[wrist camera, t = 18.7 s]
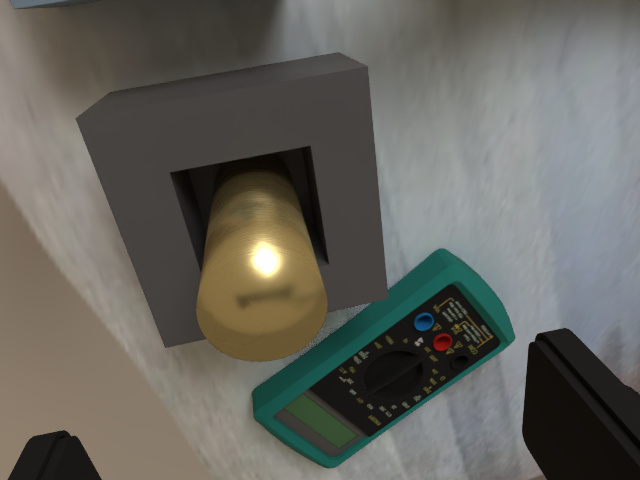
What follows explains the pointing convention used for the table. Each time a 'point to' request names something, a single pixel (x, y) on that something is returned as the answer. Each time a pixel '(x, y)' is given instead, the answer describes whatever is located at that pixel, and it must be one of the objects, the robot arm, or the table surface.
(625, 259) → the table surface
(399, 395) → the digital multimeter
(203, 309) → the peg
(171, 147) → the grey slotted block
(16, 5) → the socket block
